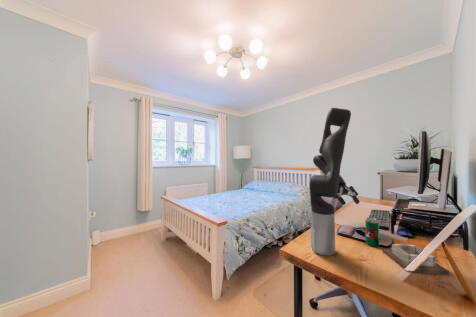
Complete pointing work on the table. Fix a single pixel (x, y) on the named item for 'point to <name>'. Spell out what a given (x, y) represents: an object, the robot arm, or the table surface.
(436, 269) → the holder
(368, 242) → the soda can
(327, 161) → the robot arm
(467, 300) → the table surface
